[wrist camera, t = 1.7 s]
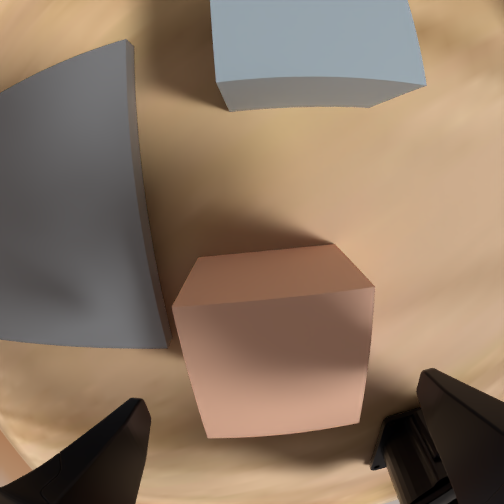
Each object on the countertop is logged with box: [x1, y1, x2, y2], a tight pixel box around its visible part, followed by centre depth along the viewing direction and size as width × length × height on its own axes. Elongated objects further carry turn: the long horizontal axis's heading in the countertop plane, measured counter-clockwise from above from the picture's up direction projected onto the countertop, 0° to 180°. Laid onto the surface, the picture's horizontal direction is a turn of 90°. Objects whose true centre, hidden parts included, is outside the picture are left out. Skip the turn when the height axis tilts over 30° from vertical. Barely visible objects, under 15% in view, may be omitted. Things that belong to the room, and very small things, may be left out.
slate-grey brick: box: [210, 0, 427, 112], centre depth 8 cm, size 6×6×5 cm
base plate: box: [0, 39, 172, 349], centre depth 12 cm, size 14×14×1 cm
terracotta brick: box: [172, 244, 375, 438], centre depth 12 cm, size 6×6×5 cm
